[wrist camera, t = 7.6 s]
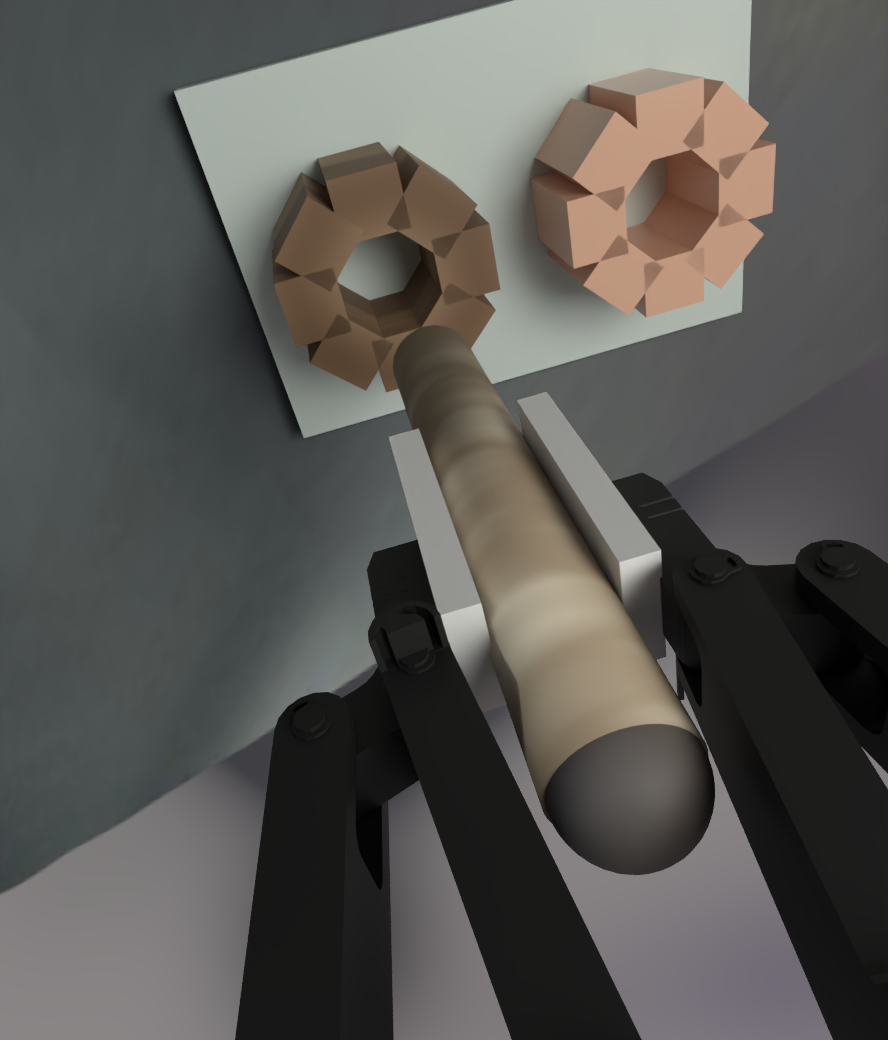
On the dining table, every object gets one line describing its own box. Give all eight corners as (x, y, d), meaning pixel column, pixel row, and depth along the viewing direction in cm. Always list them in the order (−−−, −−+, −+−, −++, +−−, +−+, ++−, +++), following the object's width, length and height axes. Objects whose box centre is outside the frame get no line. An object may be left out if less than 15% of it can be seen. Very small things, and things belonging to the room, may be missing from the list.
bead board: (303, 427, 39) (304, 438, 38) (176, 88, 30) (173, 91, 29) (730, 304, 40) (741, 311, 39) (738, -62, 31) (753, -64, 30)
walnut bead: (312, 366, 36) (318, 411, 32) (246, 177, 31) (244, 202, 27) (484, 317, 37) (511, 356, 33) (448, 122, 32) (475, 139, 28)
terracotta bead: (546, 300, 37) (580, 336, 33) (520, 103, 32) (557, 117, 28) (713, 252, 37) (768, 282, 33) (715, 49, 32) (780, 55, 28)
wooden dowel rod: (403, 410, 25) (579, 933, 11) (383, 338, 23) (557, 836, 9) (478, 389, 25) (749, 878, 11) (463, 315, 23) (756, 774, 9)
